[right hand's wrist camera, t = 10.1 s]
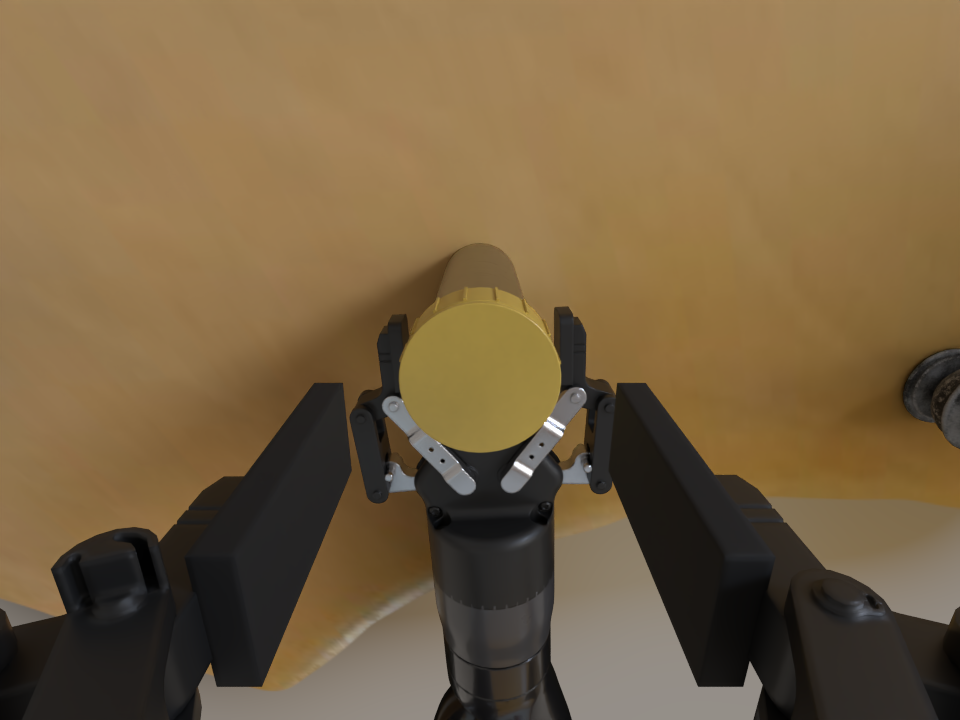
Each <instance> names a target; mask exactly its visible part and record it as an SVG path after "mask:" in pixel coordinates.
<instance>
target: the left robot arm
mask: <svg viewBox="0 0 960 720" xmlns="http://www.w3.org/2000/svg"><path fill="white" fill-rule="evenodd" d="M408 340H409V331H408V322H407V316H406V314H399V315H392V317H391V318H390V320H389V322H388V326H384V328H383V329H382V331H381V333H380V335H379V338H378V342H377V348H378V354H379V361H380V371H381V379H382V387H381V388H378V389H376V390H366V391H363V392H362V393H361V395H360V397H359V399H358V402H357V404H356V406H355V408H354V409H353V410H352V412H351V414H350V423H351V428H352V432H353V436H354V441H355V445H356V450H357V454H358V458H359V463H360V467H361V472H362V476H363V480H364V485H365V489H366V494H367V497H368V499H369V500H370V501H371V502H373V503H383V502H385V501H386V500H387V498H388V495H389V493H394V492H404V491H415V490H416V491H417V493H418V494H419V495H420V496H421V497H422V499H423V501H424V503H425V506H426V512H427V521H428V530H429V540H430V549H431V559H432V568H433V577H434V587H435V595H436V603H437V609H438V612H439V616H440V620H441V623H442V626H443V634H444V644H445V654H446V663H447V670H448V676H449V681H450V684H451V686H450V688H449V689H448V690H447V692H446V693H445V694H444V696H443V698H442V700H441V702H440V704H439V707H438V710H437V712H436V715H435V718H434V720H572V719H571V716H570V712H569V709H568V706H567V703H566V701H565V698H564V695H563V693H562V690H561V688H560V685H559V682H558V679H557V676H556V673H555V671H554V668H553V666H552V664H551V656H550V654H551V653H550V652H551V640H550V622H551V615H552V610H553V604H554V499H555V495H556V493H557V491H558V490H559V488H560V487H561V485H562V484H589V485H590V488H591V490H592V491H593V492H594V493H596V494H604V493H606V492H608V491H609V490H610V489H611V487H612V478H611V476H610V473H609V471H608V469H609V459H610V449H611V440H612V430H613V420H614V410H615V400H616V395H615V393H614V392H613V390H612V388H611V386H610V385H609V383H608V382H607V381H606V380H603V379H598V380H593V379H589V378H587V377H585V370H586V332H585V330H584V327H583V325H582V323H581V322H580V320H579V318H578V317H573V314H572V312H571V310H570V309H569V307H555V308H554V346H555V348H556V351H557V353H558V356H559V358H560V361H561V364H560V369H561V387H560V393H559V396H558V400H557V403H556V405H555V407H554V409H553V411H552V413H551V415H550V416H549V418H548V419H547V421H546V422H545V423H544V424H543V425H542V427H541V428H540V429H539V430H537V431H536V432H535V433H534V434H533V435H532V436H530V437H529V438H527V439H526V440H524V441H522V442H521V443H519V444H517V445H514V446H512V447H510V448H507V449H503V450H499V451H494V452H484V453H476V452H466V451H461V450H457V449H454V448H450V447H448V446H446V445H443V444H441V443H439V442H437V441H436V440H434V439H432V438H431V437H430V436H428V435H427V434H426V433H425V432H423V431H422V430H421V429H420V428H419V427H418V426H417V424H416V423H415V422H414V421H413V419H412V418H411V416H410V415H409V413H408V411H407V410H406V408H405V405H404V403H403V400H402V397H401V393H400V387H399V368H400V362H399V359H400V357H401V354H402V352H403V349H404V347H405V345H406V343H407V342H408ZM581 407H582V408H586V409H587V416H586V427H585V438H584V445H583V444H578V445H577V446H576V447H575V448H574V450H573V452H572V455H571V457H570V458H569V459H568V460H566V461H563V462H560V460H559V458H558V457H557V456H556V454H555V453H554V452H553V451H552V449H553V447H554V446H555V445H556V444H557V443H558V441H559V440H560V439H561V437H562V436H563V433H564V429H565V427H566V425H567V424H568V423H569V422H570V421H571V419H572V418H573V417H574V416H575V415H576V413H577V412H578V411H579V410H580V409H581ZM385 417H389V418H390V419H391V420H392V421H393V422H395V423H396V424H397V425H398V426H399V427H400V428H401V429H402V430H403V431H404V432H405V433H406V435H407V437H408V440H409V442H410V444H411V445H412V446H413V447H414V448H415V449H416V450H417V451H418V452H419V453H420V454H421V455H422V456H423V457H422V459H421V460H420V461H419V463H418V465H417V468H410V467H408V466H407V465H405V463H404V461H403V459H402V457H401V456H400V455H399V454H398V453H396V452H393V453H391V449H390V444H389V439H388V434H387V429H386V424H385V419H384V418H385Z"/></svg>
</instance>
